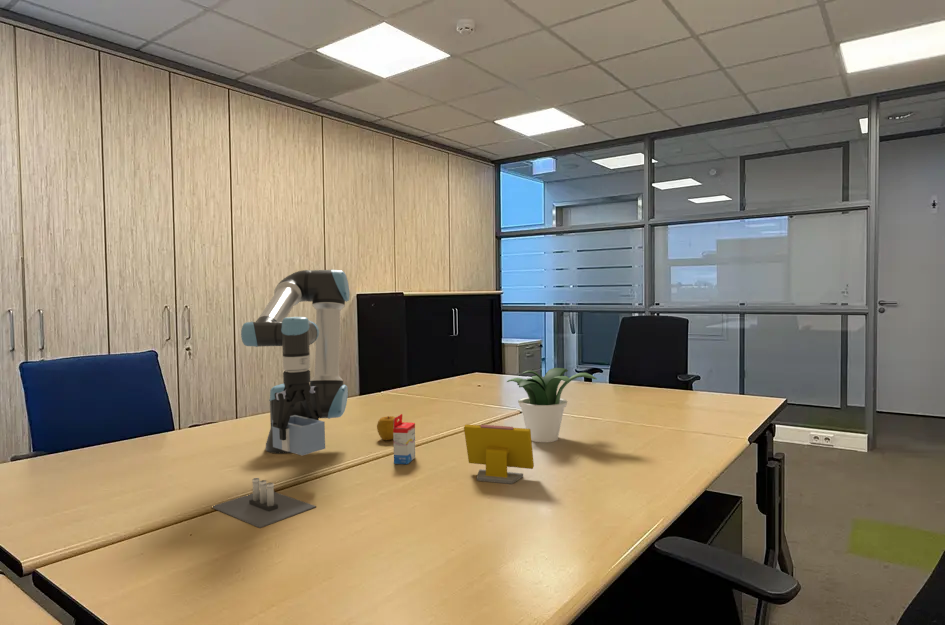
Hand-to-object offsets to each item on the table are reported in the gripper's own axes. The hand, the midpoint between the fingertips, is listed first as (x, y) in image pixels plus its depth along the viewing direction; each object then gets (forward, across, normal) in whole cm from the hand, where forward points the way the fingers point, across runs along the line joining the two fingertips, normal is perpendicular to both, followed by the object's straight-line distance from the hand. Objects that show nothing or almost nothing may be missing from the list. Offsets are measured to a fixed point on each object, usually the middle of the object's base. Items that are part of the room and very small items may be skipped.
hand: (298, 446), depth 167 cm
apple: (+12, +48, +12) cm, 51 cm away
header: (+9, -19, -11) cm, 23 cm away
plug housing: (0, 0, 0) cm, 0 cm away
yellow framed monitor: (+10, +35, -47) cm, 59 cm away
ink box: (+11, +32, -12) cm, 36 cm away
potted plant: (+11, +84, -37) cm, 93 cm away
